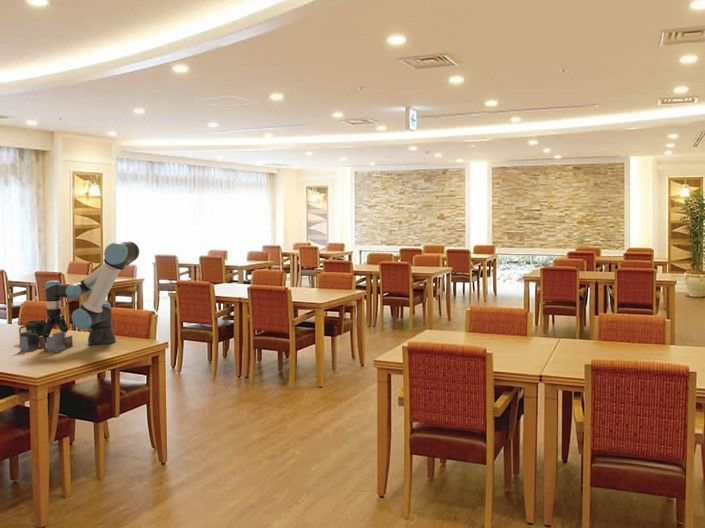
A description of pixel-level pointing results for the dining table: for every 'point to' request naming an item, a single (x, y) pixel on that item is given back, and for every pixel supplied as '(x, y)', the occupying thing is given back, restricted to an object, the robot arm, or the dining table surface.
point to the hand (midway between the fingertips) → (55, 345)
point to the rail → (42, 339)
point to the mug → (34, 327)
